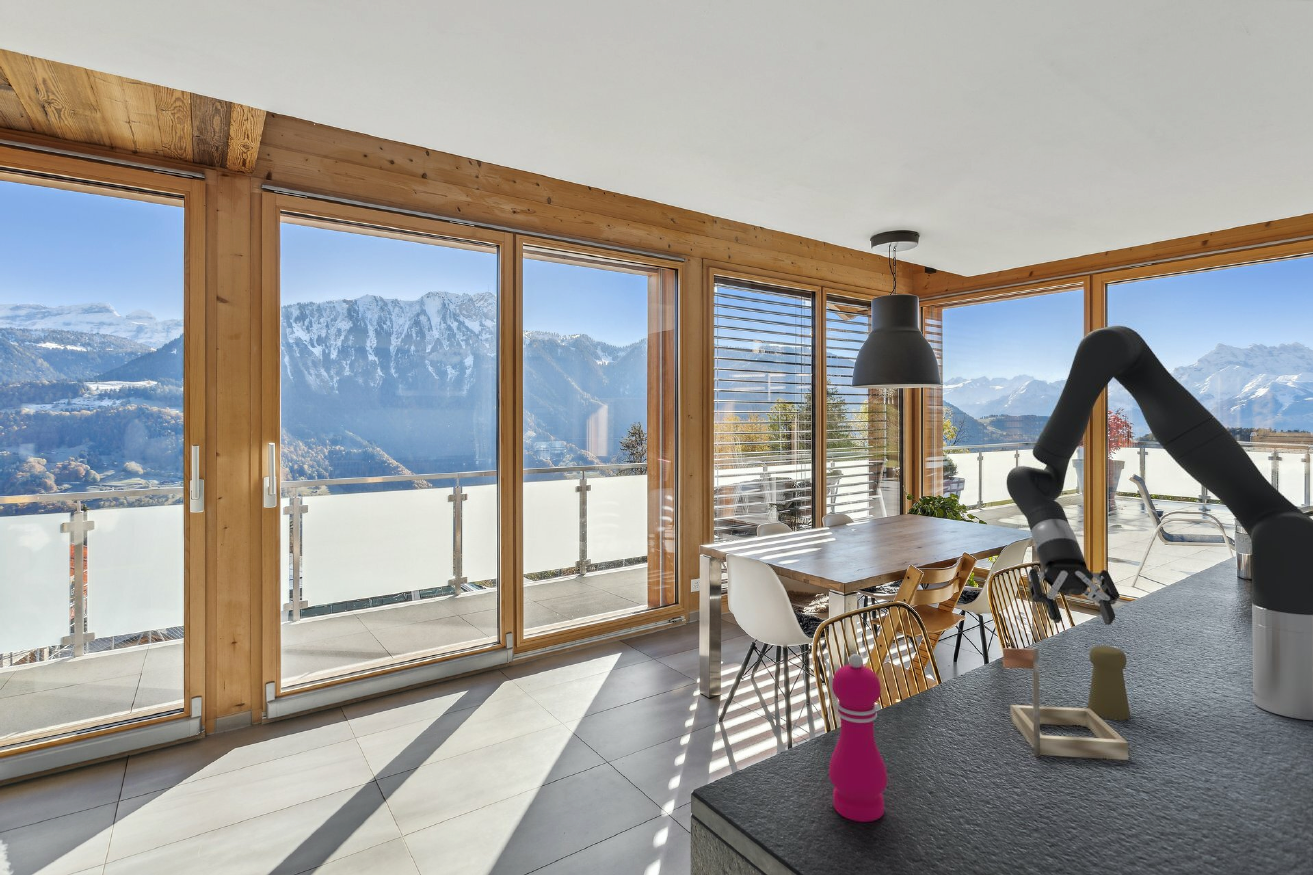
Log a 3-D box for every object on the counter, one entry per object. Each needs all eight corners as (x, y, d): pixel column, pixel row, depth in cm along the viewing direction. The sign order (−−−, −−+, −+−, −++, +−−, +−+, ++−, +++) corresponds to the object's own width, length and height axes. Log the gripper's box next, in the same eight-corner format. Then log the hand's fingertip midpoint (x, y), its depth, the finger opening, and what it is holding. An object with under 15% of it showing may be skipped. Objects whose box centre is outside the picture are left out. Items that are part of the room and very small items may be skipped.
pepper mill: (821, 794, 89) (819, 646, 89) (874, 791, 90) (871, 643, 90) (841, 826, 82) (838, 665, 82) (897, 822, 83) (895, 662, 83)
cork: (1137, 721, 109) (1136, 654, 109) (1096, 719, 110) (1095, 652, 110) (1119, 706, 115) (1119, 642, 115) (1081, 704, 116) (1080, 641, 116)
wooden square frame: (1089, 723, 109) (1088, 626, 109) (1131, 762, 96) (1129, 652, 96) (979, 718, 112) (978, 622, 111) (1005, 755, 99) (1004, 647, 99)
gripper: (1022, 536, 131) (1047, 610, 120) (1102, 536, 128) (1135, 612, 117) (1013, 557, 136) (1036, 630, 125) (1090, 558, 134) (1120, 633, 123)
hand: (1084, 621), depth 121 cm, fingers open, 8 cm apart
